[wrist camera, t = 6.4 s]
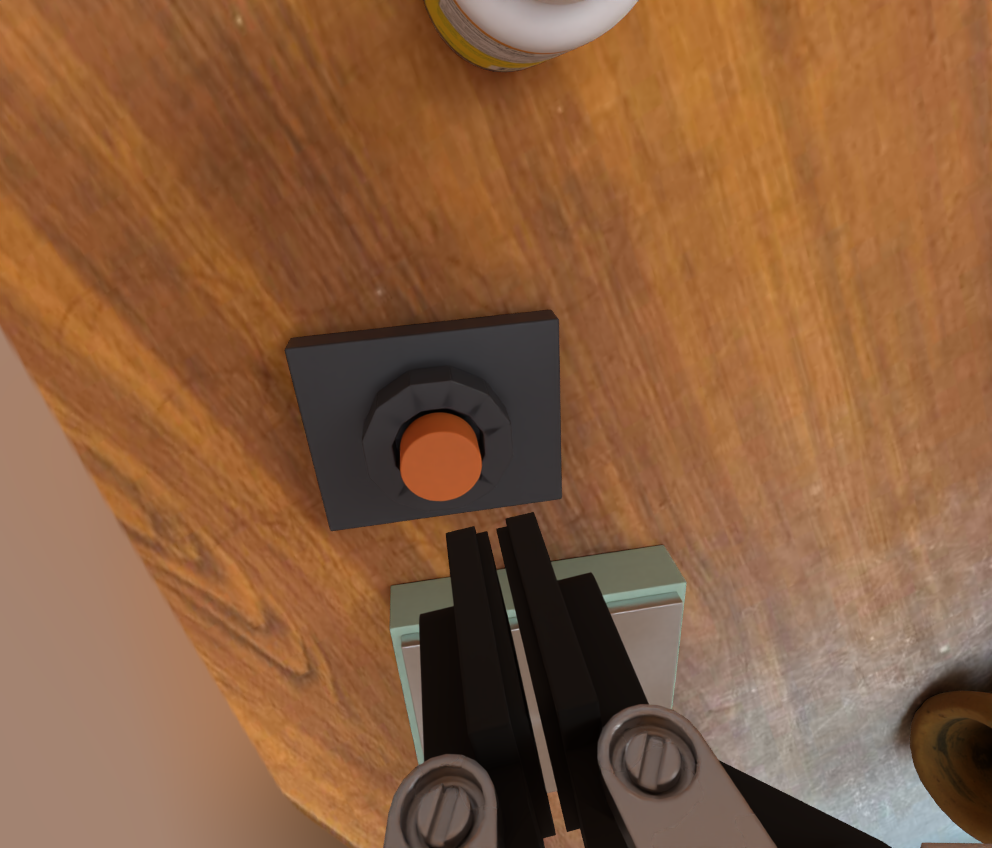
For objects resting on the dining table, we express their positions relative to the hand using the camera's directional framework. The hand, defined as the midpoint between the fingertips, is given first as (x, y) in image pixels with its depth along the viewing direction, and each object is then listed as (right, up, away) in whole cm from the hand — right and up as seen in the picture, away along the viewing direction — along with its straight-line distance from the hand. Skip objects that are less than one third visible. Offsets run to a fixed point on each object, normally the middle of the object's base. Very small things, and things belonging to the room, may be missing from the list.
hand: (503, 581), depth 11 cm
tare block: (-3, +3, +16) cm, 16 cm away
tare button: (-3, +2, +13) cm, 14 cm away
